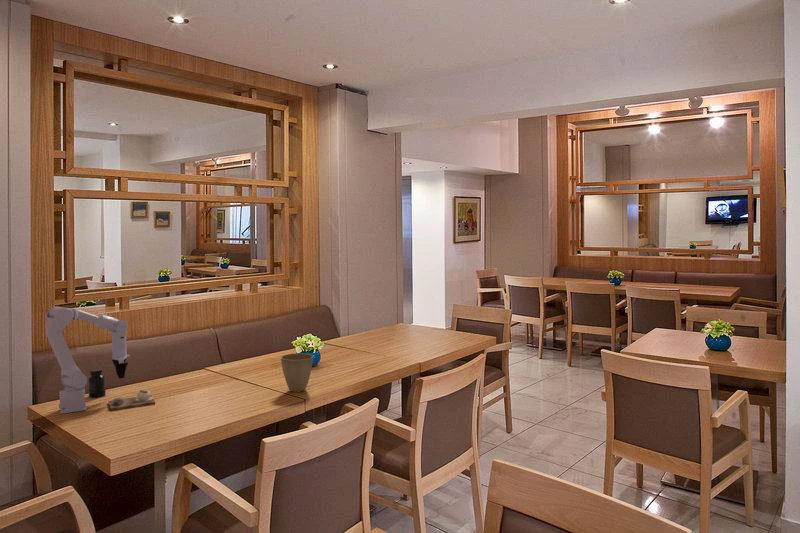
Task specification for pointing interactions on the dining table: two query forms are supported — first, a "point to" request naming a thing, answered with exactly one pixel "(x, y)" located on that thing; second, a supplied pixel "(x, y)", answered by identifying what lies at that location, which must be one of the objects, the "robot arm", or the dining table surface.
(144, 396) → the knob
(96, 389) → the supplement bottle
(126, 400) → the base
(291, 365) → the plant pot
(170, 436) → the dining table surface
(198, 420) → the dining table surface
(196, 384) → the dining table surface
